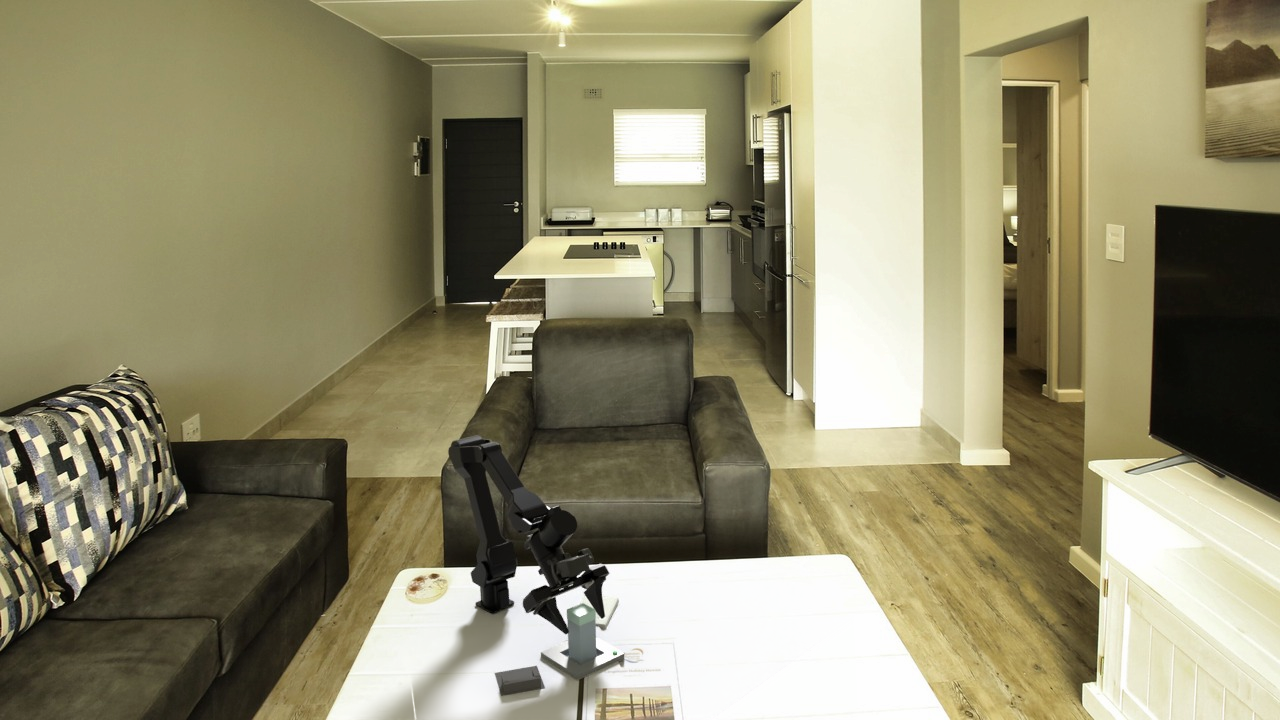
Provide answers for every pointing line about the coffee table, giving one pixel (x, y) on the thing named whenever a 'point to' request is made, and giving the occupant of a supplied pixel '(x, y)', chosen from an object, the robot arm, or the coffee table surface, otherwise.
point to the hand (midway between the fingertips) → (585, 625)
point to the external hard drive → (609, 608)
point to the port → (580, 671)
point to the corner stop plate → (519, 680)
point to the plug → (581, 633)
